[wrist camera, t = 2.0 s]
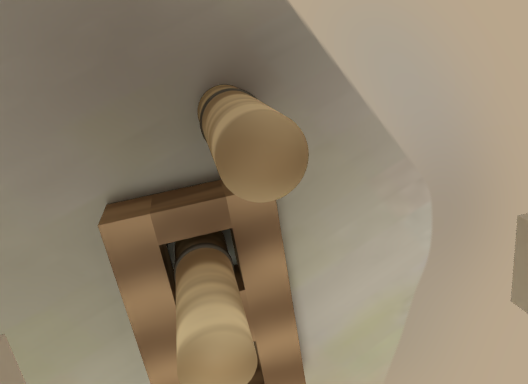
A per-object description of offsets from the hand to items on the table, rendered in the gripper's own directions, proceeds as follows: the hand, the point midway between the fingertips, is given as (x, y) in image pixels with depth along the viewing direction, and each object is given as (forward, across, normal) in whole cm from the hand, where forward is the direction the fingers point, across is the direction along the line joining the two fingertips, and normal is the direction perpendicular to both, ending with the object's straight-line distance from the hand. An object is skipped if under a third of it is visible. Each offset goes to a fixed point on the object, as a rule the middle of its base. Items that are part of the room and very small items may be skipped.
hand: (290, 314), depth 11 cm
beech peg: (+22, +1, +2) cm, 22 cm away
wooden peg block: (+22, -2, -13) cm, 26 cm away
